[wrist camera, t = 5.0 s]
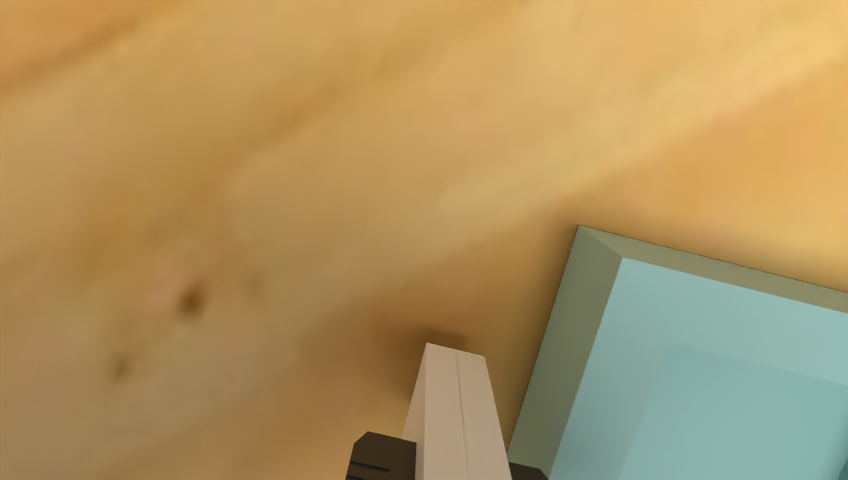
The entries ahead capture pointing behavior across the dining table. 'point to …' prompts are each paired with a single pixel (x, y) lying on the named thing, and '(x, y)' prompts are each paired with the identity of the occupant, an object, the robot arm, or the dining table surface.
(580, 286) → the socket block
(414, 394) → the robot arm
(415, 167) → the dining table surface
